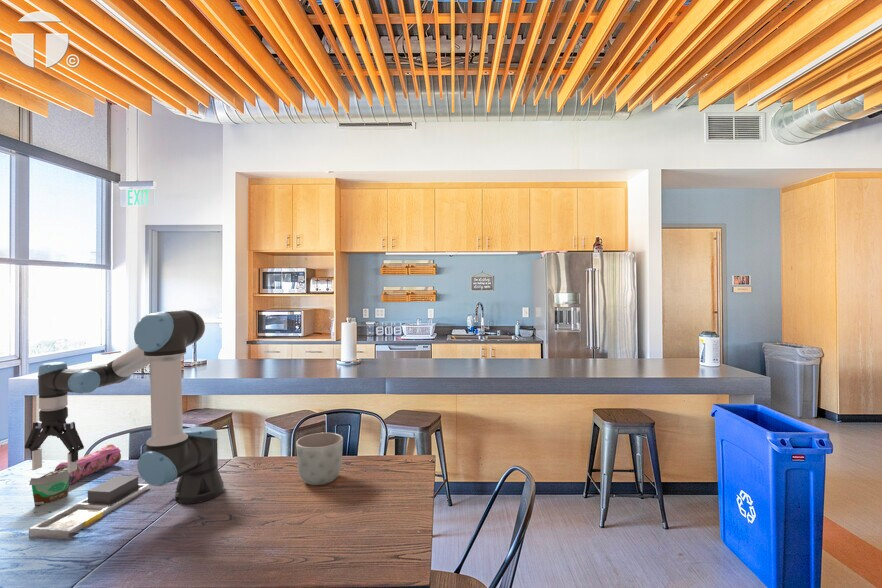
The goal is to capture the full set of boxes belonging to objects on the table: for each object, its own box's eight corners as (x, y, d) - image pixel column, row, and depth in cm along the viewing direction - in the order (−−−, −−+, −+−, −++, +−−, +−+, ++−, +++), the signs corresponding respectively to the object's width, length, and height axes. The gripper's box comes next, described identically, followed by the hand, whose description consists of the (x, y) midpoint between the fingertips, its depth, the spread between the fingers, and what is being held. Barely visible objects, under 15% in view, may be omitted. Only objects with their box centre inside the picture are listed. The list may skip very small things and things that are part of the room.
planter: (353, 477, 174) (352, 437, 174) (319, 494, 160) (318, 451, 160) (321, 467, 183) (320, 429, 183) (286, 483, 169) (285, 442, 169)
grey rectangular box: (138, 490, 162) (138, 476, 162) (109, 507, 151) (109, 492, 150) (118, 489, 163) (117, 475, 163) (88, 505, 152) (87, 490, 151)
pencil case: (72, 488, 168) (71, 463, 168) (51, 485, 170) (51, 462, 170) (124, 465, 189) (123, 443, 189) (105, 463, 191) (104, 442, 191)
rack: (150, 491, 164) (150, 483, 164) (70, 539, 133) (69, 530, 133) (116, 489, 166) (116, 482, 166) (29, 536, 135) (28, 527, 135)
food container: (45, 510, 151) (44, 480, 151) (30, 508, 152) (29, 478, 152) (81, 493, 163) (80, 465, 163) (67, 492, 164) (66, 464, 164)
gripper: (96, 406, 159) (97, 467, 160) (32, 403, 162) (33, 463, 163) (76, 412, 151) (77, 476, 152) (9, 409, 155) (11, 472, 155)
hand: (54, 469), depth 157 cm, fingers open, 13 cm apart
